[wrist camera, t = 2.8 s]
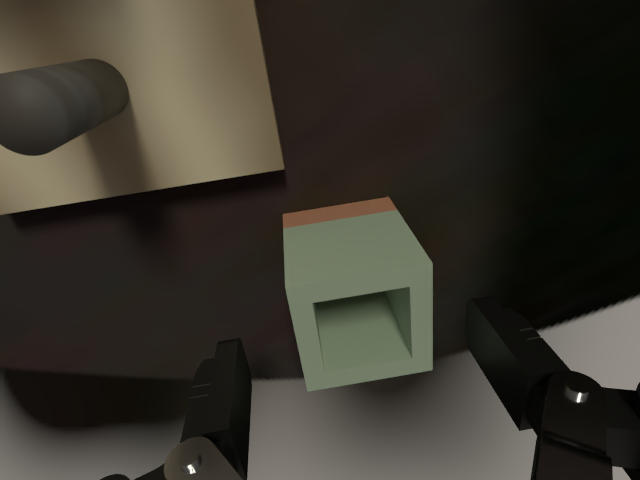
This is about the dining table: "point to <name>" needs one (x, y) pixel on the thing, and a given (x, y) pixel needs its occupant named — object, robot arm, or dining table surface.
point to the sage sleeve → (357, 293)
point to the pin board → (130, 98)
